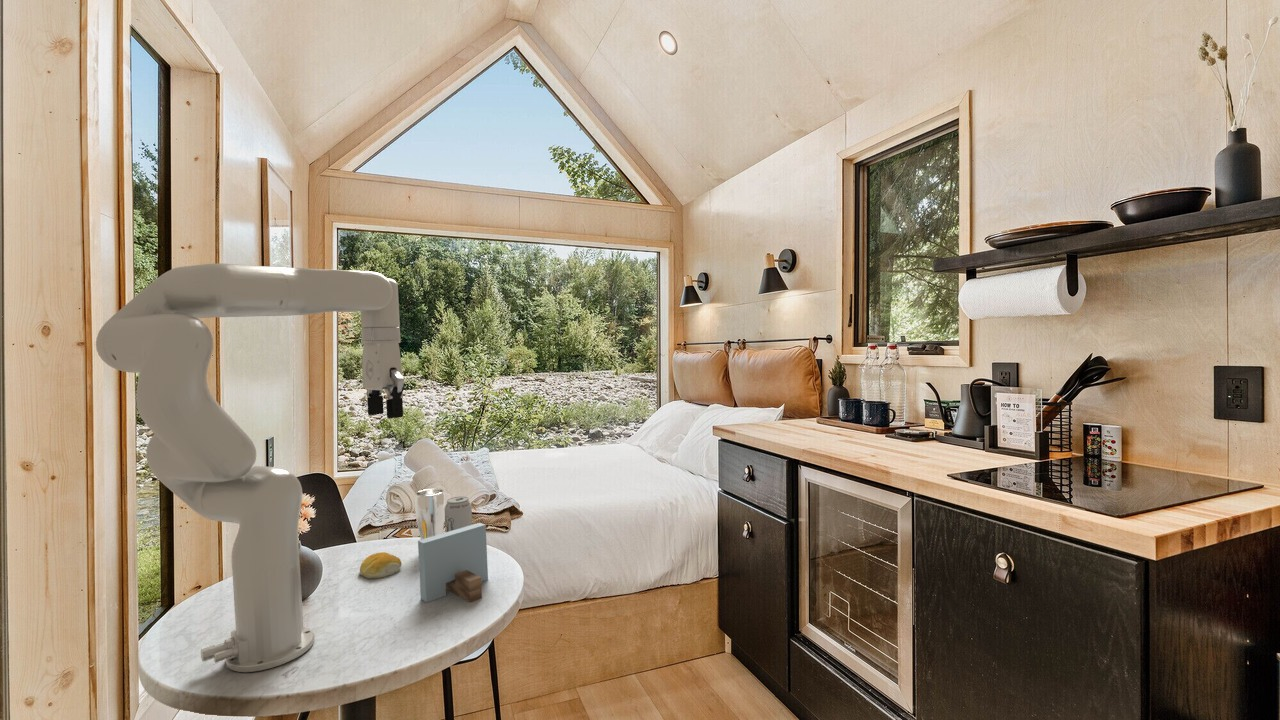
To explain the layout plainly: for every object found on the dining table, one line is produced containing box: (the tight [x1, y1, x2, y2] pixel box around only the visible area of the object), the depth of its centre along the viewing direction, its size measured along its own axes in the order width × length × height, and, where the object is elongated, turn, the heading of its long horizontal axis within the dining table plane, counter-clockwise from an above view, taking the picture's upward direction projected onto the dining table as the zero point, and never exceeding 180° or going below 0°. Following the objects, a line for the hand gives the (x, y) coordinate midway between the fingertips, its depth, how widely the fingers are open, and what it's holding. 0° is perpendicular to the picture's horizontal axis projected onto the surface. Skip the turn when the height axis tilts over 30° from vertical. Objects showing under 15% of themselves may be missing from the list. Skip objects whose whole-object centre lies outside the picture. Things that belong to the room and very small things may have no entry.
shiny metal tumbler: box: [414, 488, 446, 540], centre depth 141 cm, size 7×7×15 cm
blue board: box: [417, 522, 489, 603], centre depth 120 cm, size 14×2×12 cm, turn 137°
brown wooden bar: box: [446, 570, 483, 603], centre depth 120 cm, size 16×3×4 cm, turn 47°
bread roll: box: [359, 552, 403, 579], centre depth 131 cm, size 8×9×4 cm
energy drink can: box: [444, 496, 473, 533], centre depth 134 cm, size 6×6×15 cm
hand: (385, 416), depth 123 cm, fingers open, 9 cm apart
